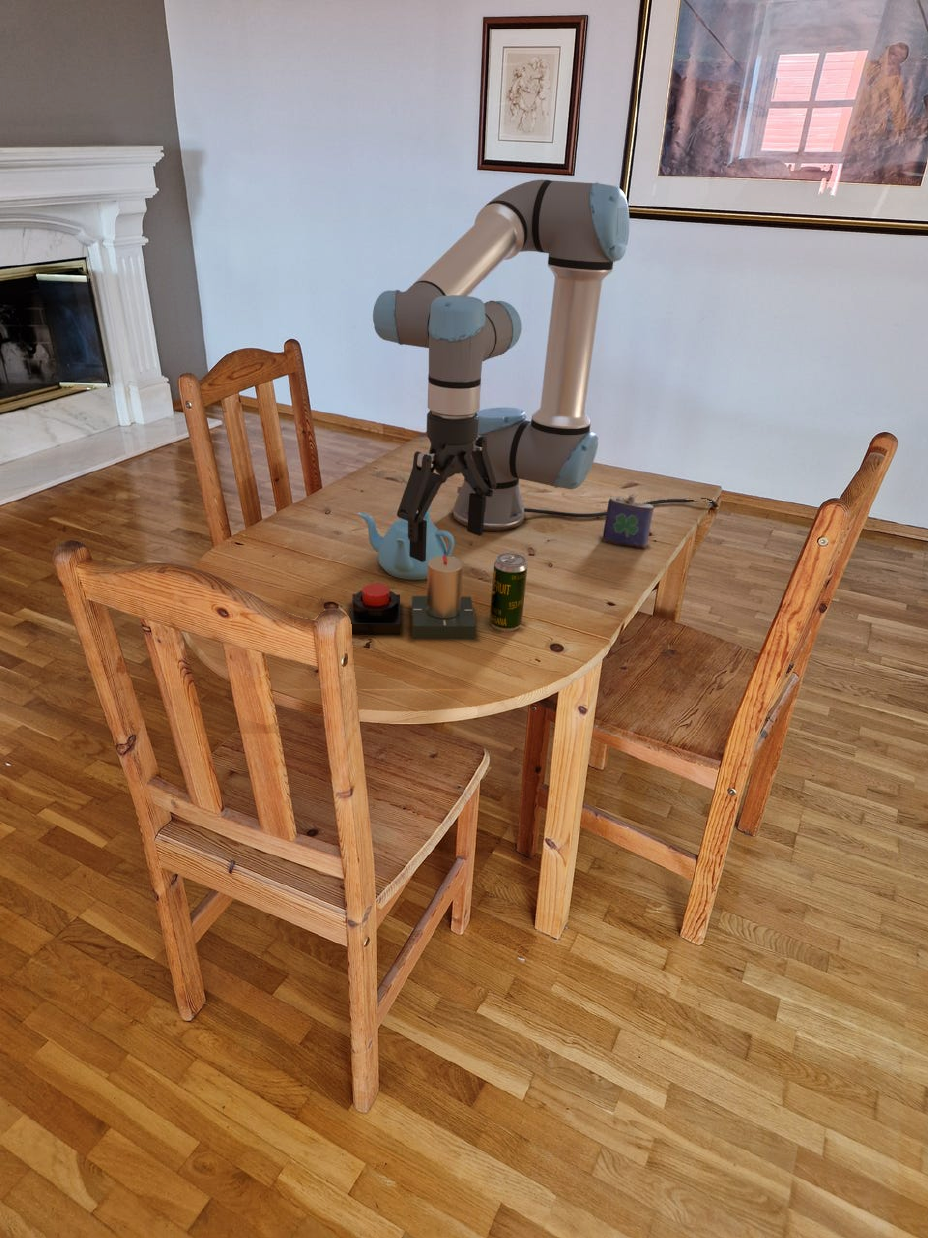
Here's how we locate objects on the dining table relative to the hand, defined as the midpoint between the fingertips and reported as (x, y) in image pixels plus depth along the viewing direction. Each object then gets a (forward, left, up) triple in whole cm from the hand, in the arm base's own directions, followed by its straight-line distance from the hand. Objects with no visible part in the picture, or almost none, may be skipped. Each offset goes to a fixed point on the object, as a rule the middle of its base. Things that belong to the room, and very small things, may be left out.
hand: (447, 545), depth 128 cm
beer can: (-10, 0, -14) cm, 18 cm away
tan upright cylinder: (0, 0, -12) cm, 12 cm away
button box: (+11, -1, -14) cm, 18 cm away
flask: (-39, -34, -14) cm, 54 cm away
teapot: (+6, -21, -14) cm, 26 cm away
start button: (+11, -1, -10) cm, 15 cm away
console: (0, 0, -14) cm, 14 cm away
